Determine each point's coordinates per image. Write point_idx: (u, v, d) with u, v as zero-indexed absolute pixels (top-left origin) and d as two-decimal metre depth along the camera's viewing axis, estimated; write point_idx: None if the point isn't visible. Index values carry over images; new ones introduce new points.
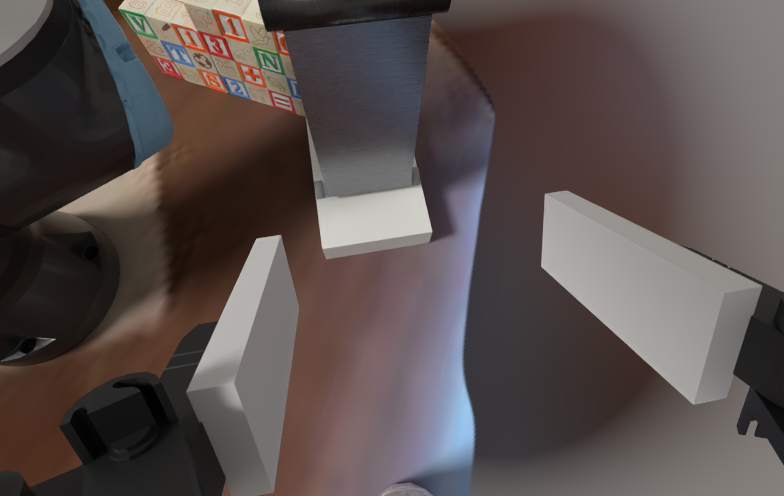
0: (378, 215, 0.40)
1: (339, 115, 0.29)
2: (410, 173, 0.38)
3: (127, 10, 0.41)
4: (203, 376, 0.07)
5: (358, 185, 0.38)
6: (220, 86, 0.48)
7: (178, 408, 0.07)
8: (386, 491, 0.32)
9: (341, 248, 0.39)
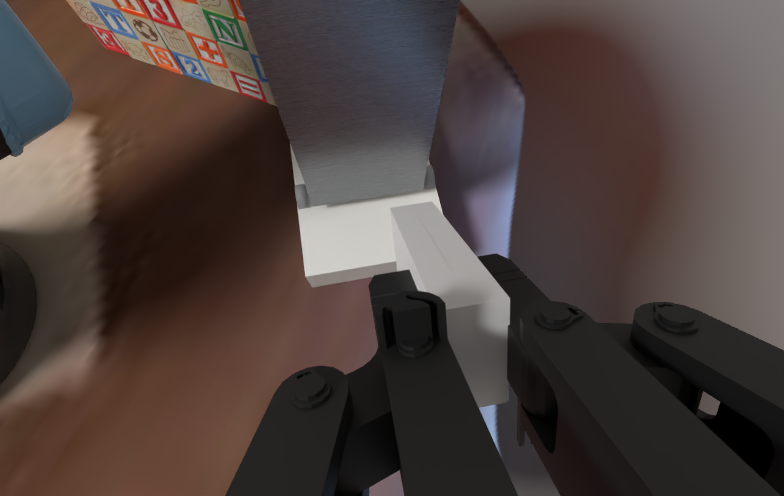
0: (380, 230, 0.30)
1: (322, 87, 0.19)
2: (423, 174, 0.28)
3: None
4: None
5: (353, 190, 0.28)
6: (173, 65, 0.38)
7: None
8: None
9: (331, 275, 0.29)
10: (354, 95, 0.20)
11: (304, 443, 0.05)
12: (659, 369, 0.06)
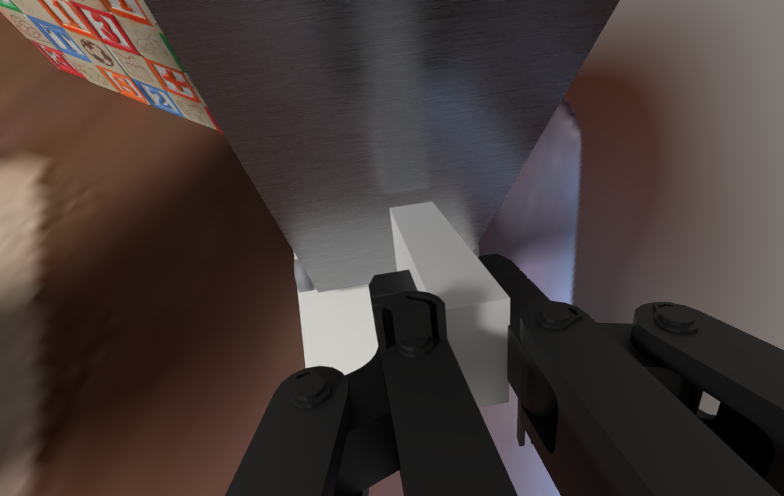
0: None
1: (337, 171, 0.11)
2: None
3: None
4: None
5: (373, 274, 0.21)
6: (137, 94, 0.30)
7: None
8: None
9: None
10: (387, 178, 0.12)
11: (303, 443, 0.05)
12: (659, 369, 0.06)
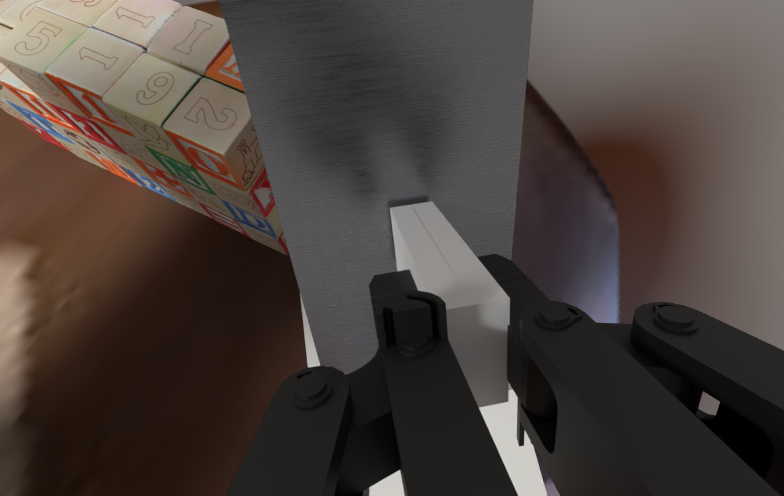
0: None
1: (346, 185, 0.13)
2: None
3: None
4: None
5: None
6: (127, 175, 0.28)
7: None
8: None
9: None
10: (391, 201, 0.14)
11: (304, 443, 0.05)
12: (658, 369, 0.06)
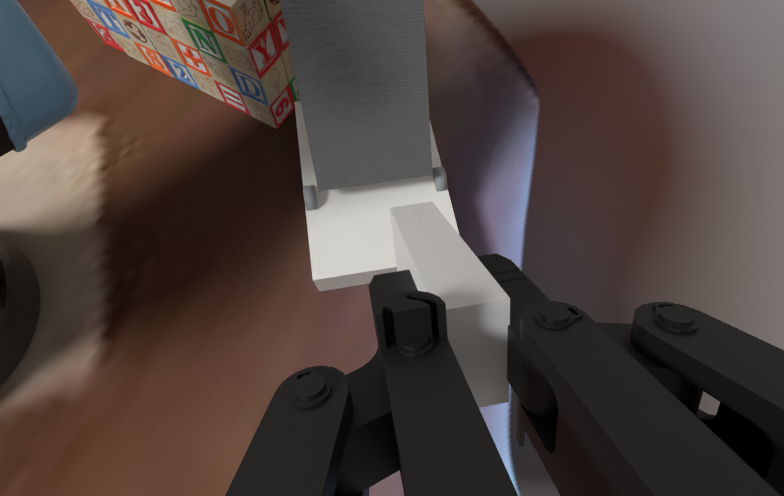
0: (390, 233, 0.29)
1: None
2: (428, 144, 0.28)
3: None
4: None
5: (359, 165, 0.28)
6: (163, 67, 0.37)
7: None
8: None
9: (339, 279, 0.28)
10: (348, 9, 0.23)
11: (304, 443, 0.05)
12: (659, 369, 0.06)
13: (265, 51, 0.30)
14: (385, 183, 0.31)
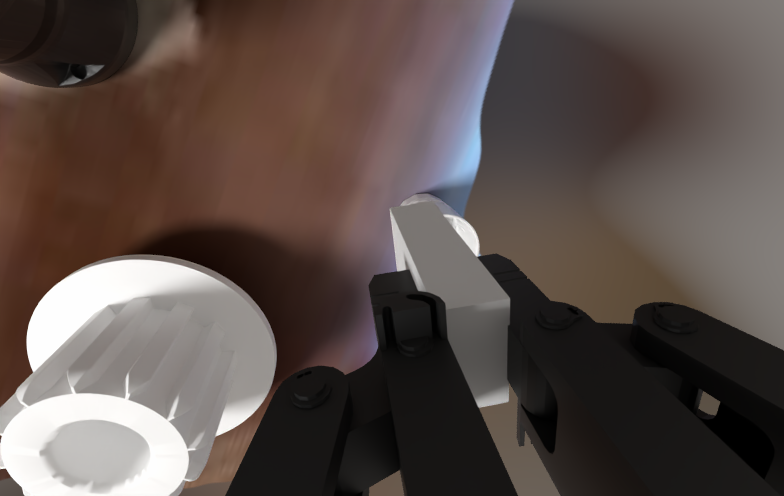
0: None
1: None
2: None
3: None
4: None
5: None
6: None
7: None
8: (413, 199, 0.45)
9: None
10: None
11: (304, 443, 0.05)
12: (659, 369, 0.06)
13: None
14: None
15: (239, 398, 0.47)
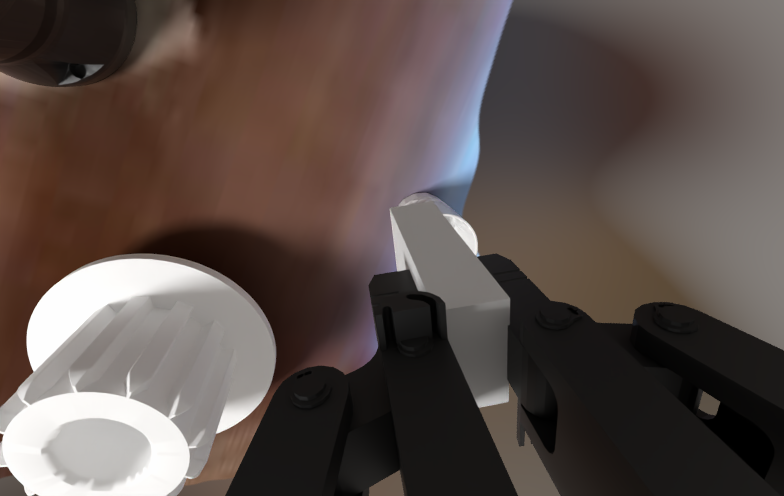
0: None
1: None
2: None
3: None
4: None
5: None
6: None
7: None
8: (411, 198, 0.46)
9: None
10: None
11: (304, 443, 0.05)
12: (659, 369, 0.06)
13: None
14: None
15: (239, 396, 0.47)
